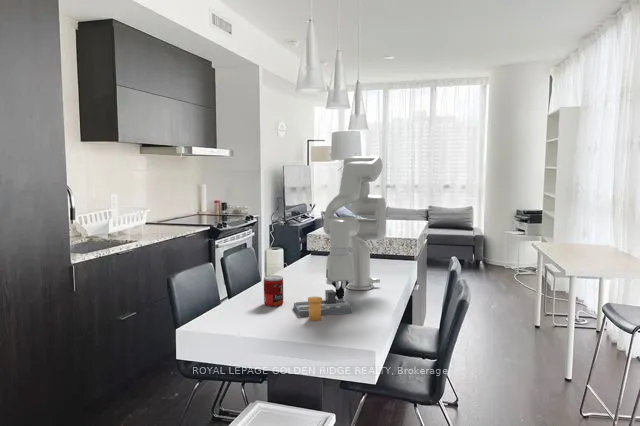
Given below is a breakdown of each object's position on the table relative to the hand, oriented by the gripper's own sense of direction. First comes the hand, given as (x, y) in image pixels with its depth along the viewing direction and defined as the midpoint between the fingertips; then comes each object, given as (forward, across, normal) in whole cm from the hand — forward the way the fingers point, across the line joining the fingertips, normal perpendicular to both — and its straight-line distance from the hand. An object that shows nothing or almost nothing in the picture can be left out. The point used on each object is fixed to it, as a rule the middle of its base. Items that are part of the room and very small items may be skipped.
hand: (339, 298), depth 180 cm
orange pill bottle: (+4, +12, +10) cm, 16 cm away
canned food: (+4, +24, -13) cm, 28 cm away
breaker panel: (+4, +7, 0) cm, 8 cm away
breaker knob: (+2, +4, 0) cm, 4 cm away
